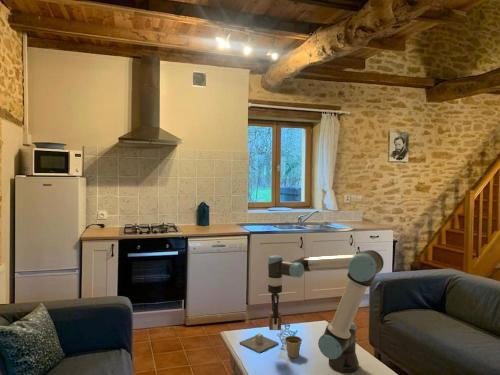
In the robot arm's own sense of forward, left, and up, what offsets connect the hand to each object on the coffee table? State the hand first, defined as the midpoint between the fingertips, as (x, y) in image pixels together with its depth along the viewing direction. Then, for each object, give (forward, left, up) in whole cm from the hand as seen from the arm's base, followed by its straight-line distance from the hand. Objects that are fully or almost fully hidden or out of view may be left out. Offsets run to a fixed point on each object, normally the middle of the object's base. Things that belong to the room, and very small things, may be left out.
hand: (274, 327), depth 198 cm
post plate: (+16, -5, -16) cm, 23 cm away
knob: (0, 0, 0) cm, 0 cm away
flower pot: (-6, -9, -16) cm, 19 cm away
